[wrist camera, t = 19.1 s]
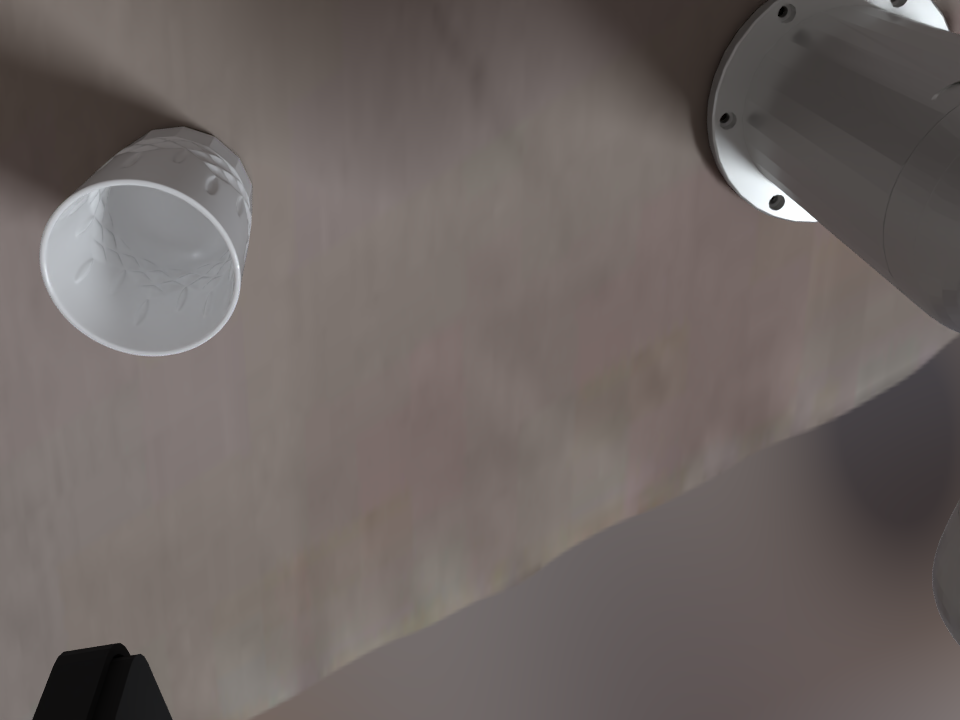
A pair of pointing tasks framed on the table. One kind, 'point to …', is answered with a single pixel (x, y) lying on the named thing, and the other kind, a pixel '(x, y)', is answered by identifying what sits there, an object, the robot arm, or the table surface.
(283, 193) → the table surface
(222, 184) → the white cup
